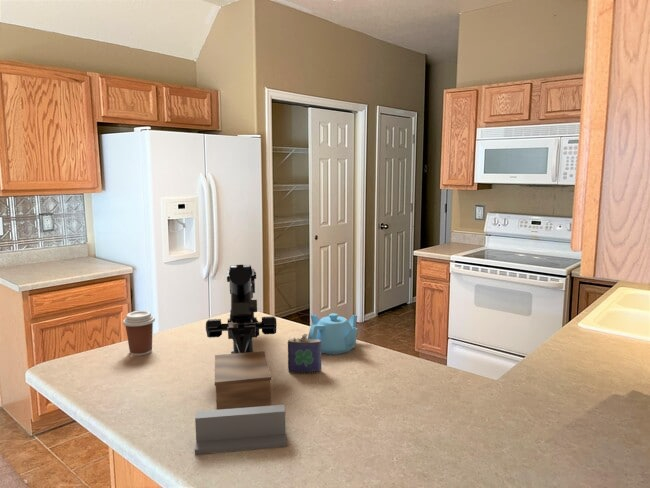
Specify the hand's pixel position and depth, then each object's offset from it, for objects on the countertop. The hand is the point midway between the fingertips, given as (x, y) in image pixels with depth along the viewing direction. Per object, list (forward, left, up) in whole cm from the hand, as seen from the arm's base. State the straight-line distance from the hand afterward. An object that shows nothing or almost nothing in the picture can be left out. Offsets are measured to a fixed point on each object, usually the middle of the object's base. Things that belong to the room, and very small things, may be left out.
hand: (242, 356), depth 132 cm
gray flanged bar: (+30, -5, -7) cm, 31 cm away
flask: (0, +17, -7) cm, 18 cm away
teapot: (-15, +31, -7) cm, 35 cm away
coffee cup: (-31, -26, -7) cm, 41 cm away
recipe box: (+12, -2, -7) cm, 14 cm away
